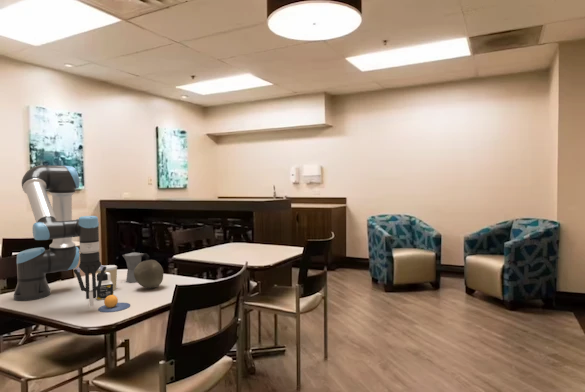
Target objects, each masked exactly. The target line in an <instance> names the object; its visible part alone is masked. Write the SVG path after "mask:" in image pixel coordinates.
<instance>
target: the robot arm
mask: <svg viewBox="0 0 585 392" xmlns="http://www.w3.org/2000/svg"><path fill="white" fill-rule="evenodd" d="M21 187H22V191H23V192H24V193H25V194H26V195H27V199H28V201H29V205H30V208H31V211H32V213H33V217H34V220H35V223H33V224H32V237H33V240H35V241H48V240H52V242H51V243H50V244H49V249H46V248H45V247H42V246H41V247H34V248H33V247H32V248H28V249H25V250H22V251H20V252H18V253H17V254H16V274H17V278H16V279H17V284H16V287H15V289H14V293H13V299H14V300H15V301H21V302H22V301H32V300H37V299H38V300H39V299H42V298H45V297H48V296H50V295H51V288H50V285H49V283H48V281H47V278H46V276H47V275H46V274H50V273H57V272H63V271H69V270H73V273H74V274H75V275H76V278H77V282H78V284H79V288H80V290H81V292H85V300H88V302H89V303H88V305H89V308H92V307H94V302H95V301H94V299H96V290H98V289H100V287H101V283H102V278H103V274H104V271H105V270H106V265H102V262H101V261H100V260H101V257H100V234H99V233H100V231H99V228H100V227H99V225H100V222H99V217H98V216H97V215H83V216H82V215H81V216H80V217H78V218H77V219H73V211H72V210H73V196H74V195H75V193H76V190H77V189H79V187H80V176H79V173H78V171H77V169H76V168H75V167H74V166H71V165H45V164H44V165H42V164H41V165H37V166H34V167H31V168H30V169H28V170H27V171H26V172H25V173H24V175H23V177H22V179H21ZM47 190H48V192H47ZM48 193H49V194H50V195H51V196H52V197H51V198H52V199H51V201H52V202H50V198H49V196H48ZM73 238H79V247H78V246H76V243H75V242H74V241H73ZM79 262H80V263H79ZM77 266H78V267H77ZM99 267H100V270H101V273H100V278H99V282H98V286H96V282H97V273H98V269H99ZM81 271H82V272H83V274H84V275H85V276H84V277H85V278H84V279H85V284H84V282H83V278H82V276H81ZM90 274H91V276H92V277H91V283H92V284H91V285H92V290H91V289H90Z"/></svg>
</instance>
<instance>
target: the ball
mask: <svg viewBox="0 0 585 392" xmlns="http://www.w3.org/2000/svg"><path fill="white" fill-rule="evenodd" d="M103 300H104V301H103V302H104V305H105V306H106V307H108V308H112V307H115V306H116V305H117V303H119V298H118V297H117V296H116V295H114V294H113V295H109V296H107V297H106V298H105V299H103Z"/></svg>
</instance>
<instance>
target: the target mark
mask: <svg viewBox="0 0 585 392" xmlns="http://www.w3.org/2000/svg"><path fill="white" fill-rule="evenodd" d="M130 307H131V304H130V303H129V302H118V303H117V305H116V306H115V307H112V308H108V307H106V306H105V304H104V305H101V306H99V307H98V309H97V310H98V312H101V313H114V312H121V311H124V310H126V309H128V308H130Z"/></svg>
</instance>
